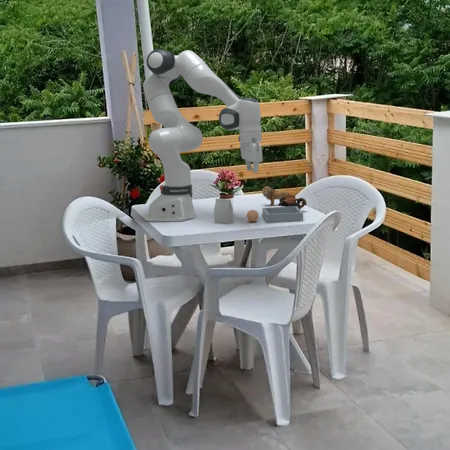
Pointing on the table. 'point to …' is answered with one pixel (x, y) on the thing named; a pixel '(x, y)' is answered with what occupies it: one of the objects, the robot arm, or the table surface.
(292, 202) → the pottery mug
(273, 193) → the lion figurine
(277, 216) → the gray square tray
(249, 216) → the rubber ball
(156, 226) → the table surface
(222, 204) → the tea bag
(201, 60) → the robot arm
